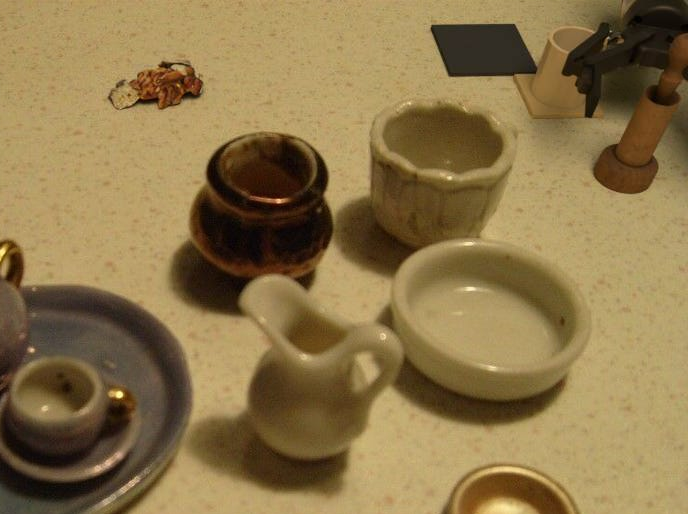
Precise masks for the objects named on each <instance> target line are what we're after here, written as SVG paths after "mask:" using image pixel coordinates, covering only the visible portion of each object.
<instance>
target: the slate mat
mask: <svg viewBox="0 0 688 514" xmlns="http://www.w3.org/2000/svg"><path fill="white" fill-rule="evenodd" d="M430 25H431V26H430V29H431V30H430V31H431V33H432V36H433V38H434V41H435V43H436V45H437V48H438V51H439V54H440V56H441V58H442V61H443V63H444V66H445V68H446V69H445V70H446V71H447V73H448V76H449V77H508V76H509V77H512V76H513V77H514V75H515V74H535V73H536V70H537V67H538V65H537V64H536V62H535V61H534V58H533V56H532V55H531V53H530V50H529V49H528V47H527V44H526V43H525V41H524V39H523V37H522V35H521V32H520V31H519V29H518V27H517V25H516V23H459V24H458V23H452V24H448V23H447V24H445V23H444V24H443V23H442V24H439V23H438V24H430Z"/></svg>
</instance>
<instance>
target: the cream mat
mask: <svg viewBox="0 0 688 514" xmlns="http://www.w3.org/2000/svg"><path fill="white" fill-rule="evenodd" d="M534 76H535V74H515V75H514V76H513V80H514V82H515V84H516V86H517V88H518V89H517V90H518V91H519V93H520V95H521V98H522V99H523V101H524V104H525V105H526V107H527V110H528V112H529V114H530V116H531V118H532V119H578V118H579V119H581V118H582V119H583V118H584V119H585V118H586V117H585V103H584V104H583V105H581V106H580V107H577V108H574V109H557V108H552V107H549V106H547V105H544V104H542V103H541V102H539V101H538V100H536V99H535V98H534V97H533V95H532V93H531V85H532V81H533V79H534ZM603 116H604V112H603V110H602V108H601V106H600V105H599V104H598V105H597V107H596V109H595V112H594V114H593V116H592V118H603Z"/></svg>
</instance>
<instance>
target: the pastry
mask: <svg viewBox="0 0 688 514" xmlns="http://www.w3.org/2000/svg"><path fill="white" fill-rule="evenodd" d="M174 65H177V66H178V67H176V68H175V69H174V68H173V66H174ZM197 75H198V76H197ZM197 75H196V69H195V67H193V66H192V62H191V60H189V59H188V58H184V59H175V60H169V59H166V60H161V62H159V63H158V64H157V68H155V69H152V68H151V69H144V70H141V71H139V72H138V73H137V75H136V79H133V78H132V80H130V81H129V82H128V81H127V80H126V79H125V78H124V79H121V80H120V79H119V80H117V81H116V82H115V88H111V89H110V91H109V93H108V94H107V97H109V98H110V100H111V101H112V103H113V105H114V107H115V108H116V109H118V110H122V109H123V108H126V107H131V106H133V105H134V104H135V103H136V102H137V101H138V100H140V99H141V100H151V99H155V98H158V100H157V103H158V108H159V110H165V109H166V108H167V106H169V105H171V106H174V105H177V104H180V103H181V102H182V99H183V96H184V95H185V94H186V93H188V92H191V93H192V94H193V95H194V96H196V95H199V94H201V93H202V91H203V89H204V87H205V83H204V80H202V78H204V76H203V74H202V73H197ZM200 78H201V79H200Z"/></svg>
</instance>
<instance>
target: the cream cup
mask: <svg viewBox="0 0 688 514" xmlns="http://www.w3.org/2000/svg"><path fill="white" fill-rule="evenodd" d="M595 32H596V31H595V30H593V29H589V28H588V27H584V26H579V25H562V26H558V27H555V28H553V29H552V30H551V31H550V32H549V33H548V36H547V39H546V43H545V45H544V48H543V50H542V54H541V56H540V59H539V61H538V65H537V70H536V73H535V76H534V79H533V81H532V85H531V93H532V95H533V97H534V98H535V99H536V100H538V101H539V102H541V103H542V104H544V105H547V106H549V107H552V108H557V109H574V108H577V107H580V106H581V105H583V104H584V103H585V101H586V95H585V94H579V93H578V91H577V87H576V86H575V82H576V80H577V77H576V76H575V75H572V76H569V77H567V76H564V75H562V74H561V72H562V69H563V67H564V64H565V61H566V59H567V56H568V54H569V53H570V52H571V51H572V50H573V49H575V48H576V47H577V46H579V45H580V44H581V43H582V42H584V41H585V40H586V39H588V38H589V37H590V36H591V35H593V34H594V33H595ZM608 47H609V46H607V48H606V50H607V49H608ZM603 51H605V50H602V49H601V51H600V52H603Z"/></svg>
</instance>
